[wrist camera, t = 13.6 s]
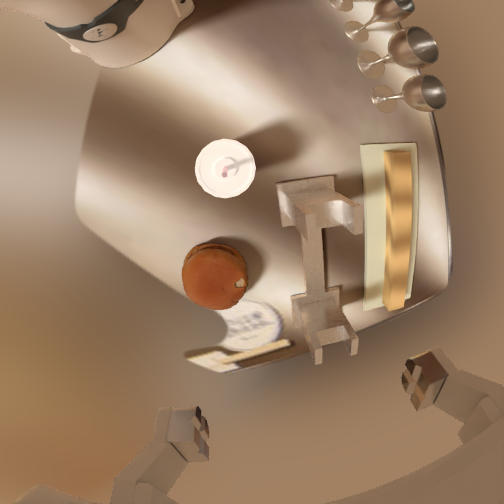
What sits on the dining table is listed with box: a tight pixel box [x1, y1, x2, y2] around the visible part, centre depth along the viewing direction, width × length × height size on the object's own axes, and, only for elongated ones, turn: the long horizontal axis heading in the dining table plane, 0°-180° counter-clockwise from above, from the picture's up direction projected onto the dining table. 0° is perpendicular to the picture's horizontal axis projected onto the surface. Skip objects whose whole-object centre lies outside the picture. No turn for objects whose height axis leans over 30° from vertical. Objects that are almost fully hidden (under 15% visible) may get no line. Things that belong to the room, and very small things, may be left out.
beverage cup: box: [195, 139, 256, 198], centre depth 29 cm, size 6×6×14 cm
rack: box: [276, 175, 363, 365], centre depth 36 cm, size 24×8×12 cm, turn 9°
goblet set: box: [330, 0, 446, 113], centre depth 22 cm, size 28×6×13 cm, turn 21°
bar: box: [382, 150, 412, 311], centre depth 39 cm, size 26×3×3 cm, turn 9°
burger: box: [182, 243, 248, 310], centre depth 39 cm, size 10×9×5 cm
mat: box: [360, 143, 418, 311], centre depth 41 cm, size 28×10×1 cm, turn 9°
